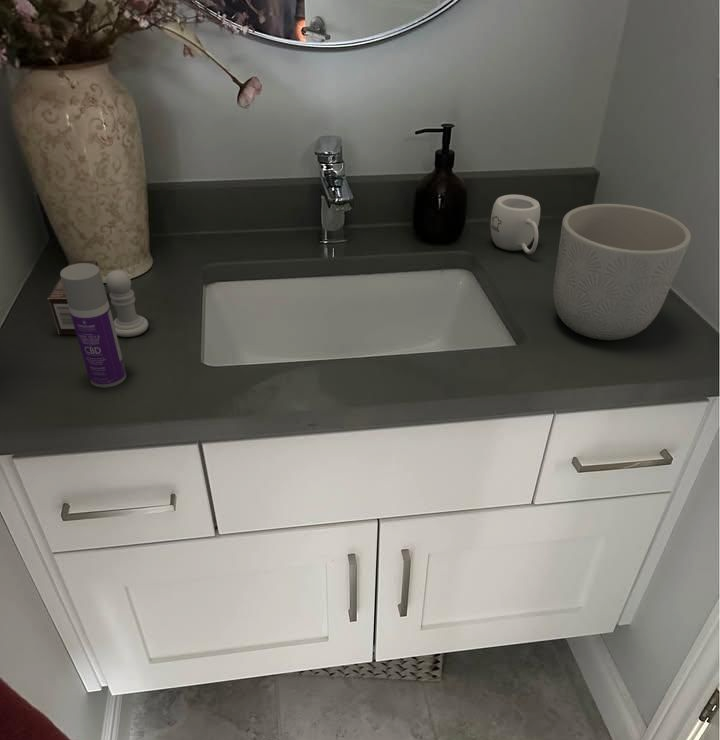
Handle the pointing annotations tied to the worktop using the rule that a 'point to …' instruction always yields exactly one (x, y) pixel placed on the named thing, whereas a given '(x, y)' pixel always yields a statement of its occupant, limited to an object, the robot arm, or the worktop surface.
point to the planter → (615, 268)
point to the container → (93, 324)
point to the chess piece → (124, 305)
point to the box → (63, 306)
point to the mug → (515, 222)
